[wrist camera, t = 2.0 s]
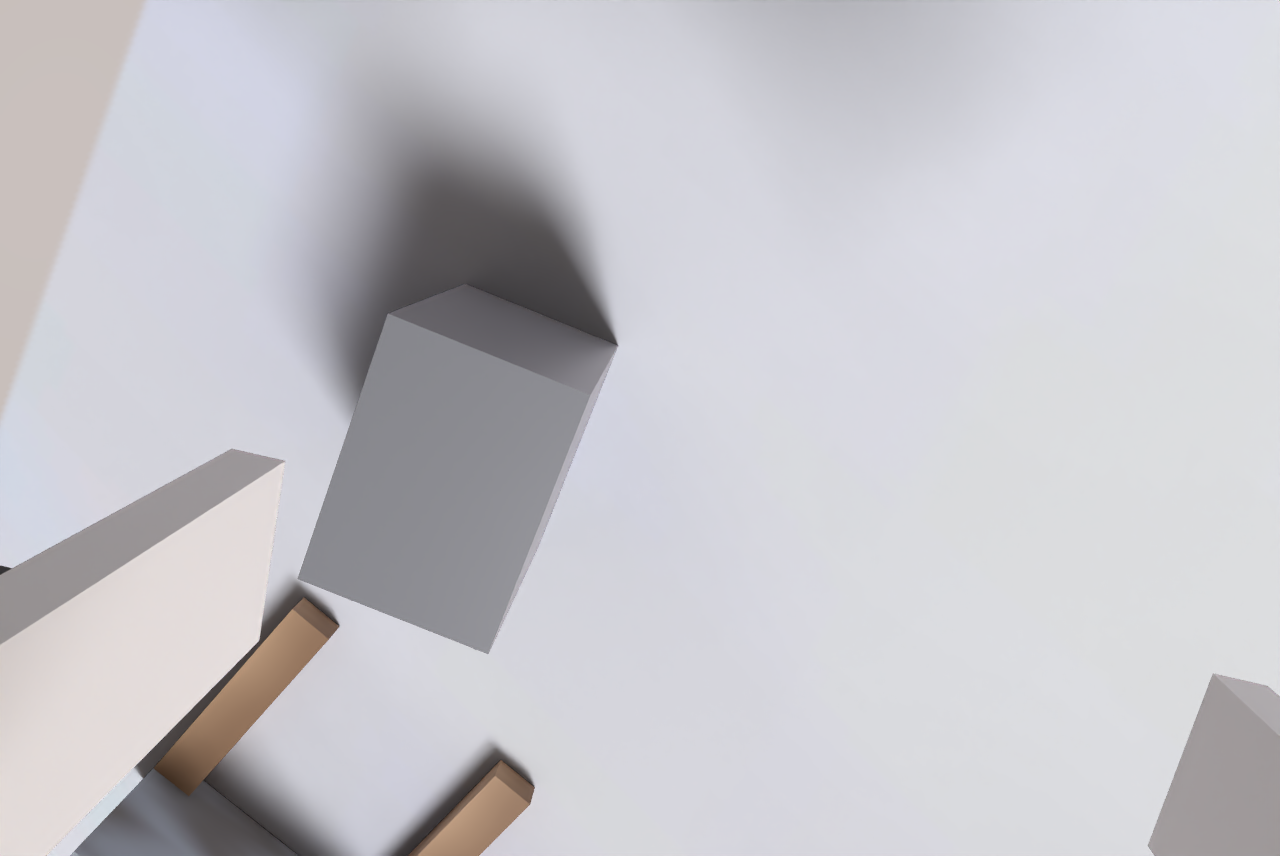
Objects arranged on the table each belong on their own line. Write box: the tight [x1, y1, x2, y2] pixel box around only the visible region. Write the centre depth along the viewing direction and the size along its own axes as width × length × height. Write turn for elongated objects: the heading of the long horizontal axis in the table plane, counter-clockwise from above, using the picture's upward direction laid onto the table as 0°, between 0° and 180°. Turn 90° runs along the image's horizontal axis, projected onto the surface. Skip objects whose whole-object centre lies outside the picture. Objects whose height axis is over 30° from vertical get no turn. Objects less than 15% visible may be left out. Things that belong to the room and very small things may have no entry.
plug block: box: [298, 284, 618, 654], centre depth 29 cm, size 5×7×8 cm
